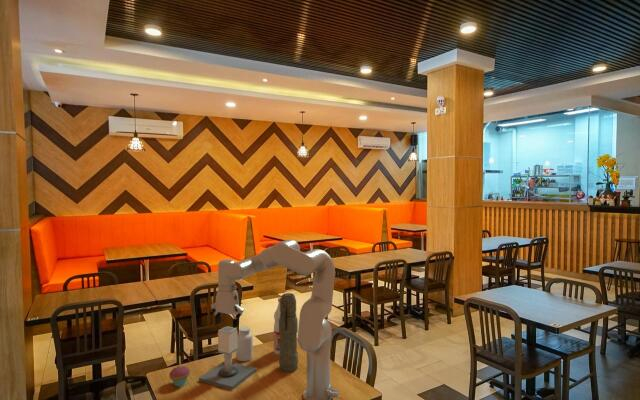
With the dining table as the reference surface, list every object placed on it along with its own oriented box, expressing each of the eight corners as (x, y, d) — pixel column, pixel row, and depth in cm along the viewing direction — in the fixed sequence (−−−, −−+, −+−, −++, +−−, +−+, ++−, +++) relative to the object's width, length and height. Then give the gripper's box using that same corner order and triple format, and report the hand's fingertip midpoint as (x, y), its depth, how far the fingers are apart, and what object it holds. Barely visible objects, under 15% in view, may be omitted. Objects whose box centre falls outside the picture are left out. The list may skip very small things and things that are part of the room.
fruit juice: (286, 346, 208) (285, 294, 206) (295, 352, 200) (295, 299, 199) (270, 351, 202) (270, 298, 201) (280, 357, 194) (279, 302, 193)
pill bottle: (249, 362, 189) (248, 332, 189) (233, 361, 191) (233, 330, 190) (255, 355, 197) (254, 326, 197) (240, 354, 199) (239, 325, 198)
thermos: (275, 373, 179) (275, 297, 177) (282, 361, 190) (282, 290, 189) (294, 374, 177) (294, 298, 176) (300, 363, 189) (300, 291, 187)
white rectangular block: (237, 349, 177) (237, 328, 177) (229, 355, 172) (228, 332, 171) (226, 347, 180) (226, 326, 179) (218, 352, 174) (217, 330, 174)
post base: (256, 371, 181) (256, 344, 180) (232, 390, 164) (231, 361, 164) (225, 363, 188) (224, 338, 187) (198, 381, 172) (198, 353, 171)
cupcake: (169, 380, 172) (169, 354, 172) (190, 377, 175) (189, 351, 175) (169, 390, 164) (169, 362, 164) (190, 386, 167) (190, 359, 167)
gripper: (247, 288, 174) (247, 325, 175) (216, 283, 181) (216, 319, 182) (237, 292, 167) (237, 331, 168) (205, 287, 175) (206, 324, 175)
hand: (226, 325), depth 175 cm, fingers open, 9 cm apart
